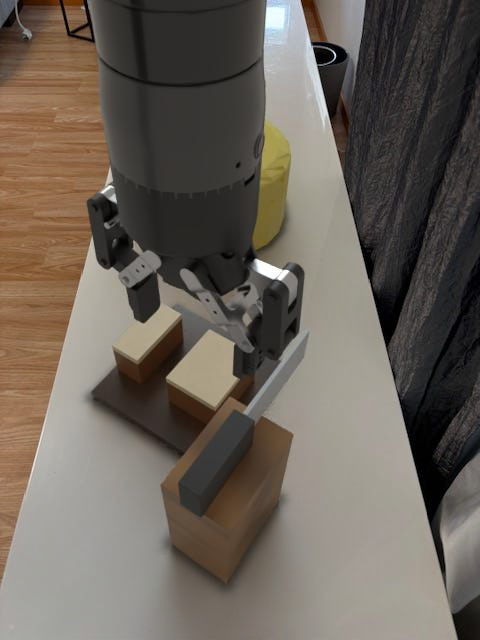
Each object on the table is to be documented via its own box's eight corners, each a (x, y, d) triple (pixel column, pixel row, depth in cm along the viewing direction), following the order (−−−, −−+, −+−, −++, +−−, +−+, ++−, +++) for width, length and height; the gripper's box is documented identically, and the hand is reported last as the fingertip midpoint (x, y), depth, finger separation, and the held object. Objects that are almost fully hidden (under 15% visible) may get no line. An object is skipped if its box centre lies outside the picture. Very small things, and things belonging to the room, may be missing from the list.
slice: (141, 384, 80) (137, 360, 75) (117, 370, 81) (111, 345, 77) (183, 339, 85) (181, 313, 81) (160, 326, 87) (157, 300, 82)
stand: (226, 584, 65) (228, 531, 51) (171, 544, 68) (160, 484, 54) (278, 500, 71) (293, 433, 57) (227, 467, 74) (229, 396, 60)
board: (206, 471, 74) (205, 466, 72) (92, 397, 80) (90, 391, 79) (282, 367, 84) (283, 362, 83) (177, 310, 91) (176, 304, 90)
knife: (200, 518, 52) (199, 497, 48) (180, 504, 52) (177, 482, 49) (311, 361, 63) (317, 334, 59) (293, 351, 64) (298, 324, 60)
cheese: (154, 266, 97) (146, 197, 85) (141, 176, 113) (133, 107, 101) (299, 250, 101) (310, 181, 89) (266, 164, 117) (272, 97, 105)
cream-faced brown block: (215, 429, 76) (215, 407, 71) (168, 401, 78) (165, 377, 74) (254, 378, 81) (256, 354, 77) (209, 353, 84) (209, 328, 79)
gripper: (22, 125, 27) (83, 330, 40) (271, 241, 23) (251, 431, 35) (123, 66, 31) (150, 268, 44) (352, 153, 27) (308, 352, 39)
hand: (195, 341), depth 40 cm, fingers open, 8 cm apart
